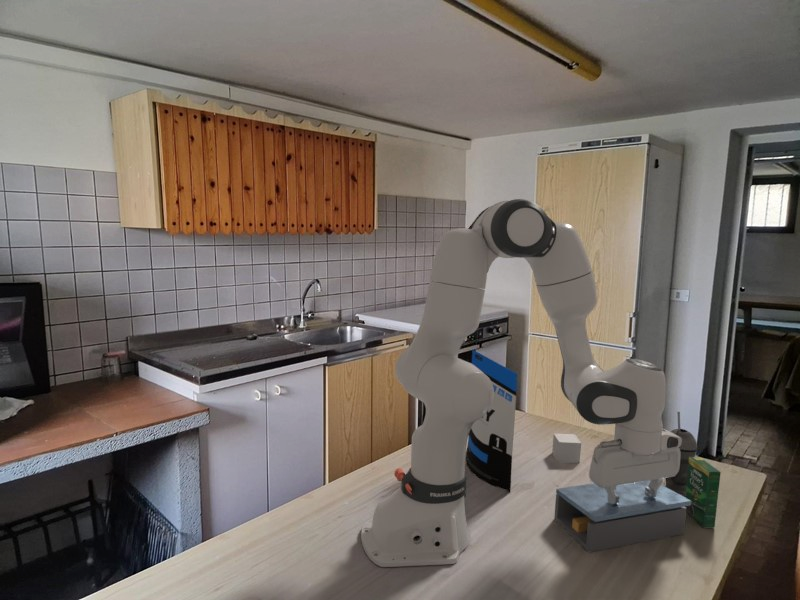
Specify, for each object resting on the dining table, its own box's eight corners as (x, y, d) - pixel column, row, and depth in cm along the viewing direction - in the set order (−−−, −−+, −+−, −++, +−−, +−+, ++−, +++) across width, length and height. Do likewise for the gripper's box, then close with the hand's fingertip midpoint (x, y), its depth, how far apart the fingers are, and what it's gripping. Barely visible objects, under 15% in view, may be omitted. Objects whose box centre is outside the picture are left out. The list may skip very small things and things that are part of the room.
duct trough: (588, 552, 102) (591, 524, 101) (554, 519, 113) (556, 494, 113) (683, 534, 109) (686, 507, 108) (642, 504, 120) (644, 480, 120)
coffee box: (682, 507, 119) (688, 455, 118) (694, 508, 119) (700, 455, 118) (702, 528, 111) (708, 471, 110) (715, 528, 111) (722, 472, 110)
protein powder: (482, 448, 149) (487, 348, 144) (527, 489, 126) (534, 372, 122) (452, 452, 146) (456, 350, 142) (492, 495, 123) (499, 375, 119)
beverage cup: (691, 499, 123) (700, 420, 120) (658, 490, 127) (666, 414, 124) (693, 486, 129) (701, 411, 127) (661, 478, 133) (668, 405, 130)
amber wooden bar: (577, 532, 107) (578, 523, 107) (572, 527, 109) (572, 518, 109) (662, 517, 113) (663, 509, 113) (655, 512, 115) (656, 504, 115)
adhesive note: (552, 453, 147) (553, 433, 146) (573, 454, 147) (574, 434, 146) (557, 462, 141) (559, 442, 140) (579, 463, 141) (581, 442, 140)
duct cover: (594, 521, 100) (595, 517, 100) (556, 493, 113) (556, 488, 112) (691, 505, 107) (691, 500, 107) (644, 479, 120) (644, 475, 119)
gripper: (605, 449, 99) (600, 515, 101) (688, 438, 105) (681, 500, 107) (585, 436, 105) (580, 498, 107) (664, 426, 111) (658, 485, 113)
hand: (631, 499), depth 107 cm, fingers open, 8 cm apart
